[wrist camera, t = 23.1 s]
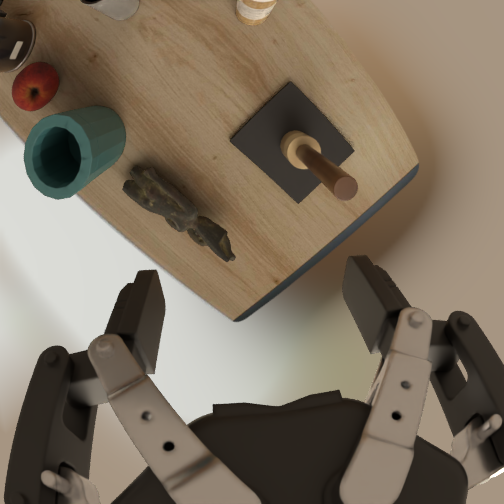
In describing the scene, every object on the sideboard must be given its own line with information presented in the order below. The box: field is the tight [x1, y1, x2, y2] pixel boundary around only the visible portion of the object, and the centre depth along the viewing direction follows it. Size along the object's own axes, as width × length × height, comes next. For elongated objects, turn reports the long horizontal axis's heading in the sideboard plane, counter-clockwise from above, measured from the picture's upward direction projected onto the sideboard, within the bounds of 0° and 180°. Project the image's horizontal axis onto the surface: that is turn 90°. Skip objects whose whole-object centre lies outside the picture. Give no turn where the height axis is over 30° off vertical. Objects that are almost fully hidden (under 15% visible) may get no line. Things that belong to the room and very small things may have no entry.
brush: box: [280, 131, 358, 201], centre depth 31 cm, size 4×4×19 cm
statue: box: [123, 166, 236, 262], centre depth 41 cm, size 6×6×20 cm
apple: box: [12, 62, 59, 111], centre depth 26 cm, size 7×8×8 cm
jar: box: [24, 106, 126, 199], centre depth 31 cm, size 10×10×12 cm
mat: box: [230, 82, 354, 204], centre depth 39 cm, size 14×12×1 cm
